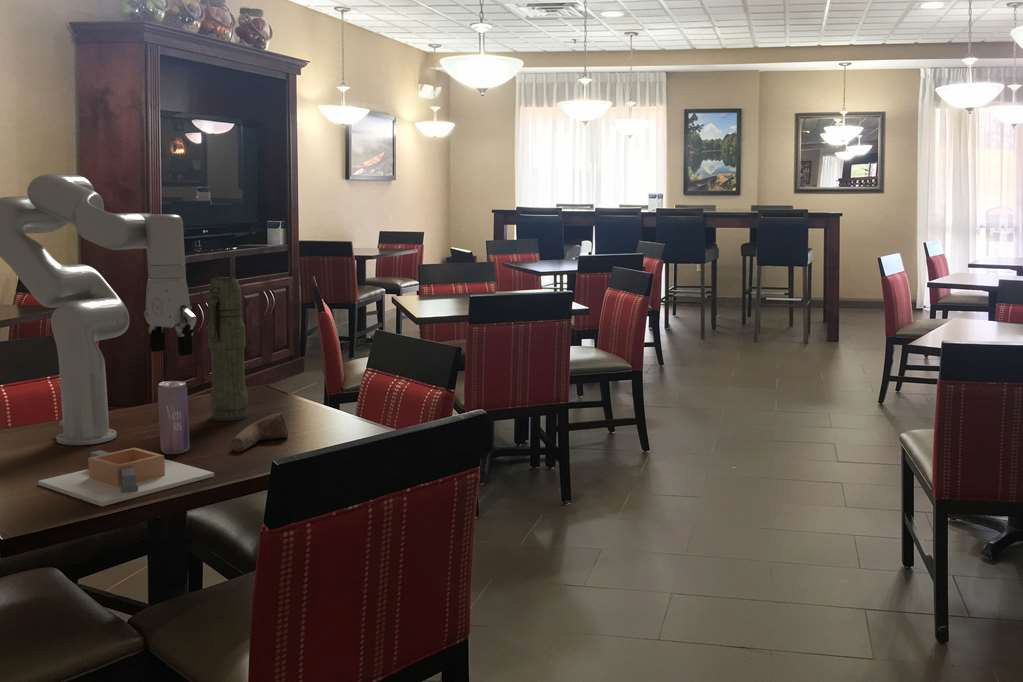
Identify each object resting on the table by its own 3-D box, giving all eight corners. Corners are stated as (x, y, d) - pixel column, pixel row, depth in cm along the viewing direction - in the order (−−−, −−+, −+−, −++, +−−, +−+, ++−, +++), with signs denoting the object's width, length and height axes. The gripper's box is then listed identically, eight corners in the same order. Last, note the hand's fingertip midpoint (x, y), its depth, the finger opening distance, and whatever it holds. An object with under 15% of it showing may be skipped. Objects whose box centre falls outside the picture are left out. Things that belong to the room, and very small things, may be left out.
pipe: (223, 431, 215) (268, 424, 214) (248, 414, 231) (290, 407, 231) (229, 460, 216) (274, 453, 215) (254, 441, 232) (295, 434, 231)
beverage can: (189, 446, 220) (185, 380, 218) (190, 453, 215) (187, 384, 213) (160, 449, 218) (157, 381, 216) (161, 455, 213) (157, 386, 211)
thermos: (201, 421, 245) (195, 279, 239) (225, 411, 256) (219, 275, 251) (234, 423, 243) (228, 279, 238) (257, 412, 254) (252, 275, 249)
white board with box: (38, 484, 191) (36, 460, 191) (149, 458, 210) (148, 436, 210) (101, 506, 178) (100, 480, 178) (214, 476, 197) (213, 452, 197)
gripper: (127, 272, 213) (132, 351, 215) (176, 275, 203) (180, 359, 205) (158, 270, 219) (163, 347, 221) (207, 273, 209) (211, 354, 211)
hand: (171, 352), depth 213 cm, fingers open, 9 cm apart
